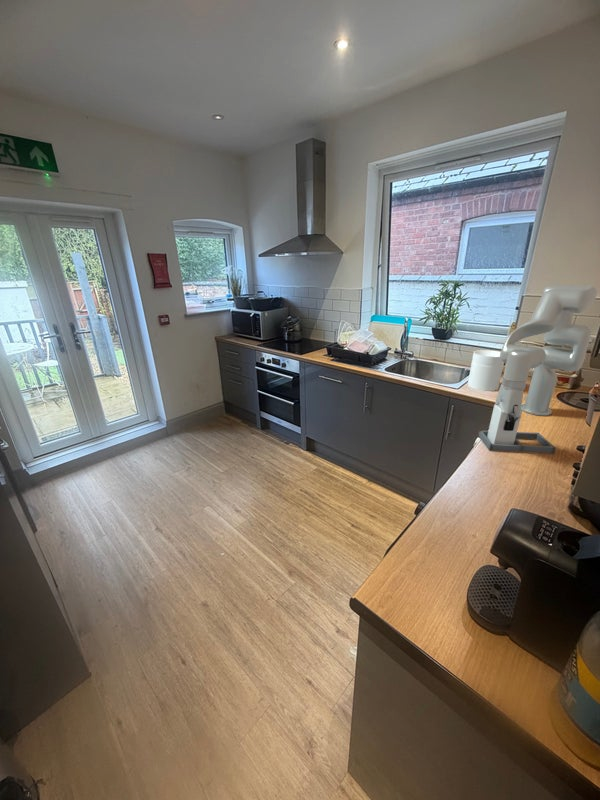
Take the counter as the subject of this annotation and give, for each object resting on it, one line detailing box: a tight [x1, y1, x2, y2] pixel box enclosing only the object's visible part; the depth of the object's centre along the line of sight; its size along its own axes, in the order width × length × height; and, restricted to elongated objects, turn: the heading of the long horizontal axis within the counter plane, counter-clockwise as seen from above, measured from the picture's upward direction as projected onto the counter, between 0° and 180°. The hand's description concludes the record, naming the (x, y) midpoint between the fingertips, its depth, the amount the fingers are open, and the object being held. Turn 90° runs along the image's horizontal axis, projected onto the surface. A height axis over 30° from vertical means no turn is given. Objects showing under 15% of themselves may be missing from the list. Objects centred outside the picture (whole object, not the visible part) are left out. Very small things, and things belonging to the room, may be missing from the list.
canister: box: [467, 349, 505, 392], centre depth 188 cm, size 16×16×20 cm
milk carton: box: [487, 399, 523, 445], centre depth 127 cm, size 7×7×19 cm
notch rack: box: [477, 430, 557, 455], centre depth 130 cm, size 12×23×2 cm, turn 82°
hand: (503, 425), depth 128 cm, fingers closed on milk carton, 7 cm apart
